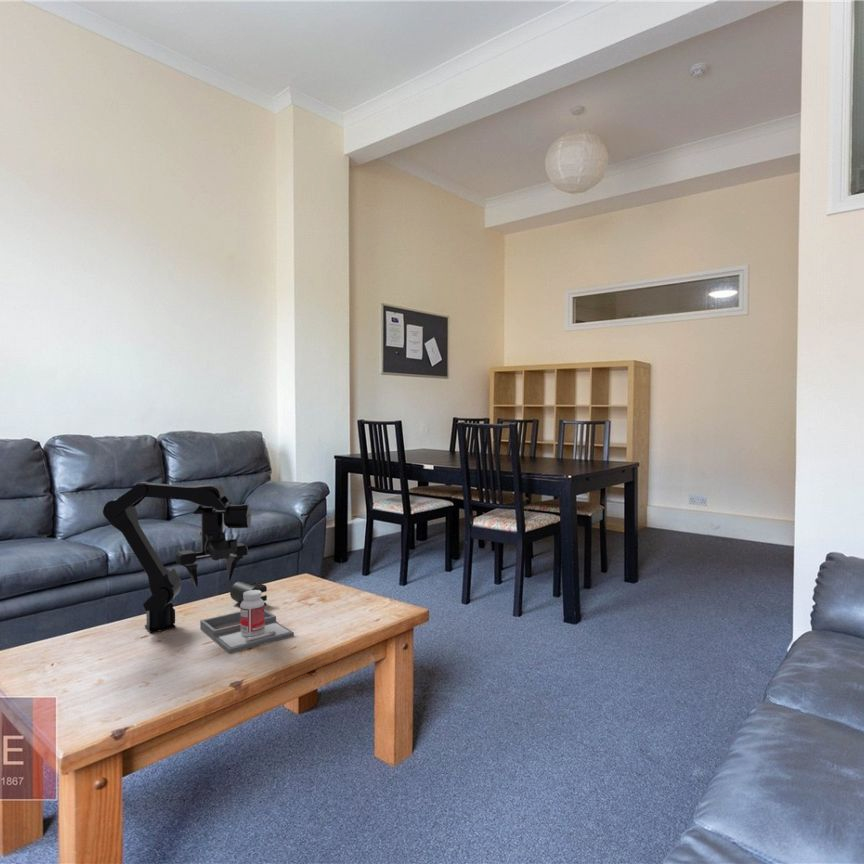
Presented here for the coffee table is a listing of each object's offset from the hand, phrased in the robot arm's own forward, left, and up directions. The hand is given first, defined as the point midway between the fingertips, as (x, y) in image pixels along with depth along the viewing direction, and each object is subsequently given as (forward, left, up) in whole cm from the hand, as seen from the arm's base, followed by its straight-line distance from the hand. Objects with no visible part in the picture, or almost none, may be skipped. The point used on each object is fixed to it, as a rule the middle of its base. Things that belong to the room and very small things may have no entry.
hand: (212, 583), depth 161 cm
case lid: (+5, -17, -12) cm, 21 cm away
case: (+5, -6, -12) cm, 14 cm away
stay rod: (+5, -21, -11) cm, 24 cm away
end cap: (+15, +11, -12) cm, 22 cm away
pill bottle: (+5, -16, -11) cm, 20 cm away
